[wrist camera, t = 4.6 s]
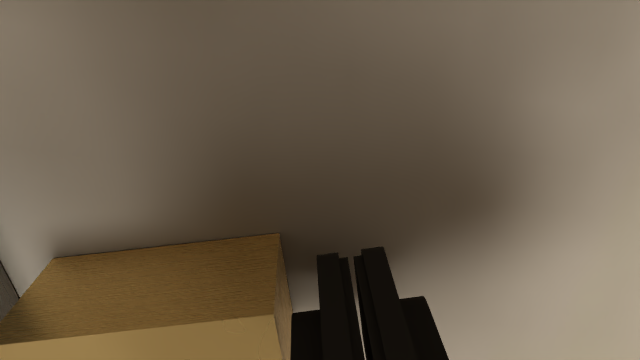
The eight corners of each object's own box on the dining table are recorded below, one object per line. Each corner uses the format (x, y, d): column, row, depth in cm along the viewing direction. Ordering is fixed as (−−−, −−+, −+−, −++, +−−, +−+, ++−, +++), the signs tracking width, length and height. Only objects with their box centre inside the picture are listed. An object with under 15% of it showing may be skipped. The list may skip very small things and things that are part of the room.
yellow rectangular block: (52, 258, 12) (-22, 347, 9) (279, 233, 12) (273, 314, 9) (88, 336, 13) (33, 435, 10) (292, 313, 13) (291, 406, 10)
